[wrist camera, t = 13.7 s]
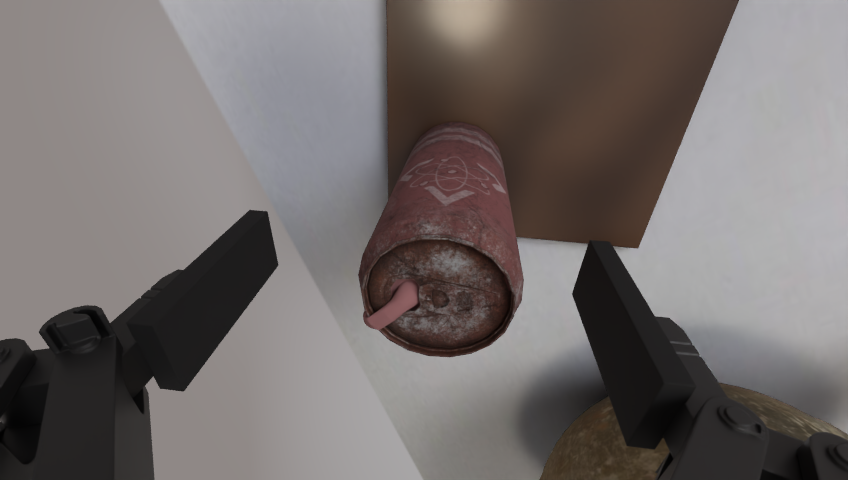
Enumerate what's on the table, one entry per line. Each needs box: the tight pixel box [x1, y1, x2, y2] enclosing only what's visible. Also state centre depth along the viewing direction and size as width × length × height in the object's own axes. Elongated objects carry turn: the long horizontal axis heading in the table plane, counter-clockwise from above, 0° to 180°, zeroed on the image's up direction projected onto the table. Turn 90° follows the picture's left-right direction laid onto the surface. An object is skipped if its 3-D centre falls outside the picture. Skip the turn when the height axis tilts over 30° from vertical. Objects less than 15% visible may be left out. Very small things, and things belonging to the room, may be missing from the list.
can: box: [358, 122, 524, 357], centre depth 19 cm, size 6×6×14 cm
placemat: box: [386, 0, 739, 248], centre depth 22 cm, size 18×20×1 cm
